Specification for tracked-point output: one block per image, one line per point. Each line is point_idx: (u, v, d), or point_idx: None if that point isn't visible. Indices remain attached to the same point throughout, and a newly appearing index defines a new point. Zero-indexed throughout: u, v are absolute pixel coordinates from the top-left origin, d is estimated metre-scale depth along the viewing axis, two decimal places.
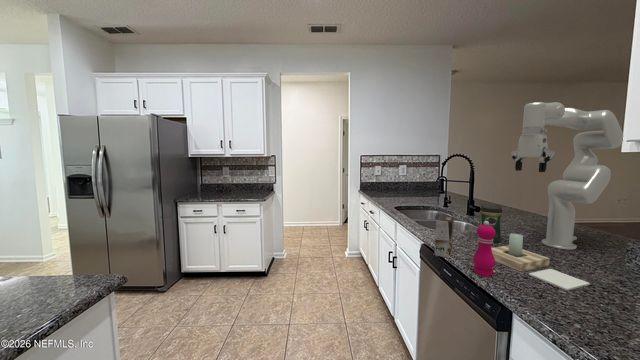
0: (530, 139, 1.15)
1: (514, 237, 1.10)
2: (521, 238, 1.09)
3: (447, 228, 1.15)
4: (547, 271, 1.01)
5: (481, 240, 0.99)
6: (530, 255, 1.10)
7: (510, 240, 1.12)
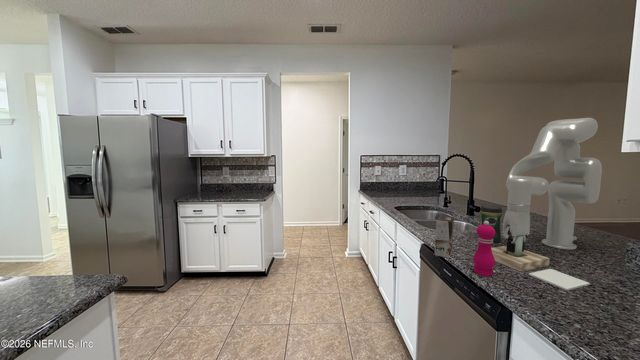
0: (525, 217, 1.08)
1: None
2: (521, 238, 1.09)
3: (447, 228, 1.15)
4: (547, 271, 1.01)
5: (481, 240, 0.99)
6: (530, 255, 1.10)
7: None
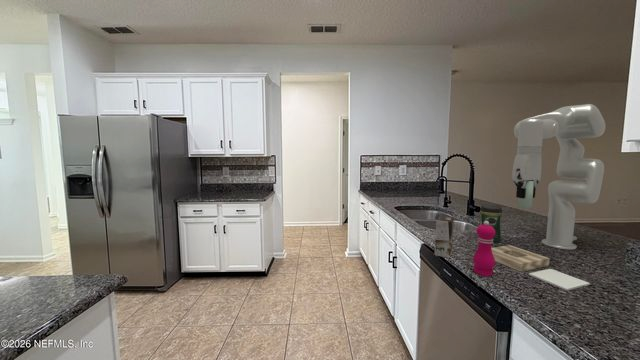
0: (536, 160, 1.03)
1: None
2: (532, 183, 1.04)
3: (447, 228, 1.15)
4: (547, 271, 1.01)
5: (481, 240, 0.99)
6: (530, 255, 1.10)
7: None
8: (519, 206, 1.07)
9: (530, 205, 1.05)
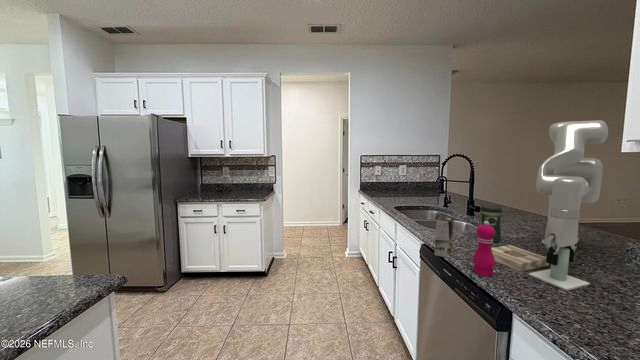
0: (573, 224, 0.91)
1: (559, 251, 0.93)
2: (568, 252, 0.92)
3: (447, 228, 1.15)
4: (547, 271, 1.01)
5: (481, 240, 0.99)
6: (530, 255, 1.10)
7: None
8: (552, 276, 0.95)
9: (565, 276, 0.93)
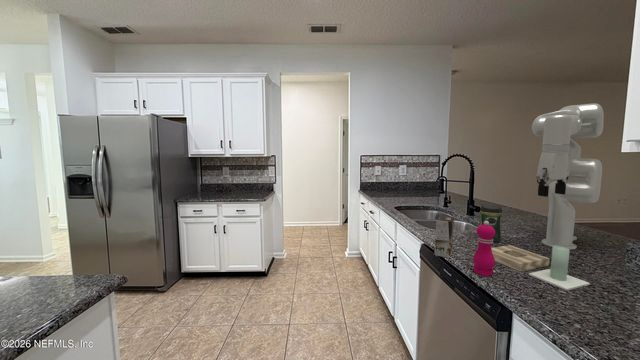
0: (564, 158, 0.97)
1: (559, 251, 0.93)
2: (568, 252, 0.92)
3: (447, 228, 1.15)
4: (547, 271, 1.01)
5: (481, 240, 0.99)
6: (530, 255, 1.10)
7: (553, 254, 0.95)
8: (552, 276, 0.95)
9: (565, 276, 0.93)
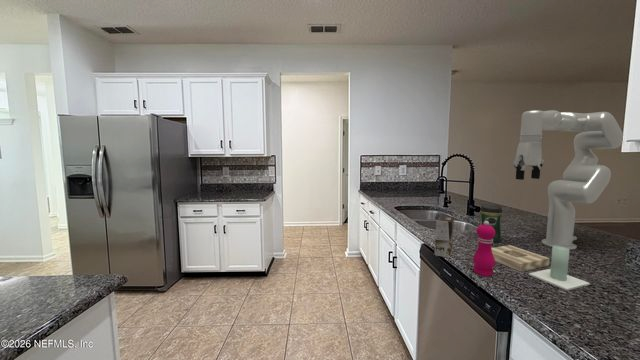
0: (537, 147, 1.15)
1: (559, 251, 0.93)
2: (567, 252, 0.92)
3: (447, 228, 1.15)
4: (547, 271, 1.01)
5: (481, 240, 0.99)
6: (530, 255, 1.10)
7: (553, 254, 0.95)
8: (552, 276, 0.95)
9: (565, 276, 0.93)
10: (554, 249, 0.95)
